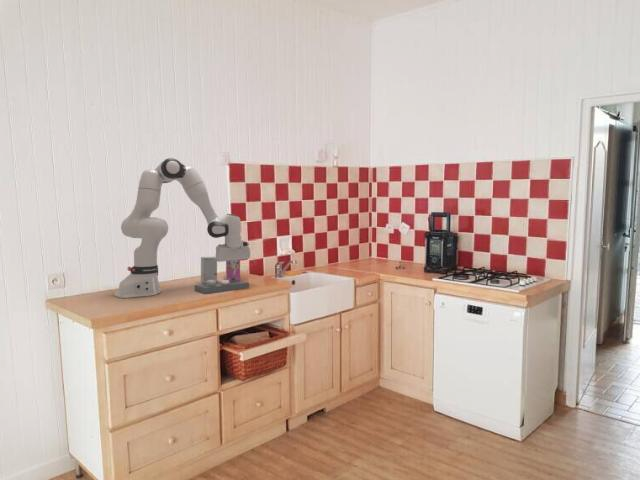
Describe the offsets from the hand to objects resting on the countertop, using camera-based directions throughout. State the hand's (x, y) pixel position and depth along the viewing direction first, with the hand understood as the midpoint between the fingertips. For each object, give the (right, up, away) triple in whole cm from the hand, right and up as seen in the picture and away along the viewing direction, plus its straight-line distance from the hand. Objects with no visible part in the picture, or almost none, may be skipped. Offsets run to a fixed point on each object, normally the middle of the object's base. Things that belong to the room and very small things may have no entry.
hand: (233, 268), depth 273 cm
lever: (0, -6, 0) cm, 6 cm away
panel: (-4, -11, -8) cm, 14 cm away
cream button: (-2, -8, -11) cm, 13 cm away
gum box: (-5, -8, +26) cm, 28 cm away
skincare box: (-16, -9, +13) cm, 23 cm away
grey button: (-8, -7, -16) cm, 19 cm away
